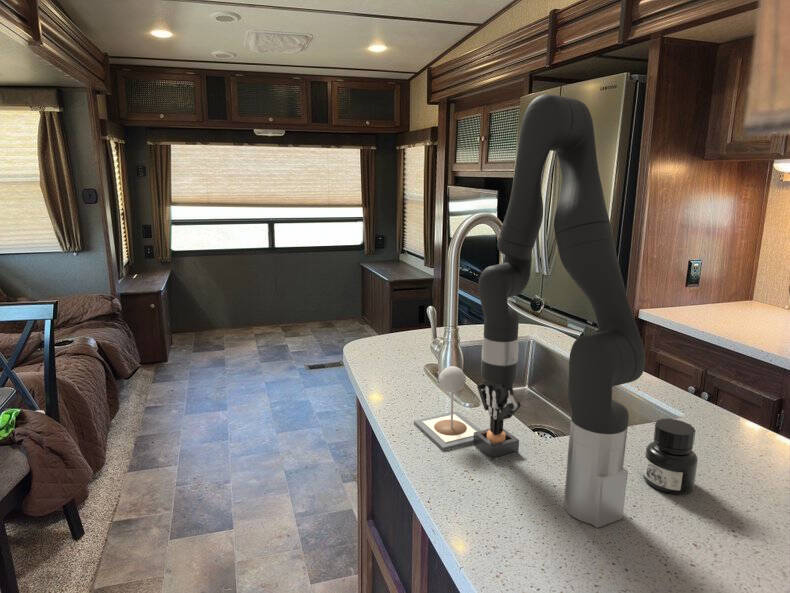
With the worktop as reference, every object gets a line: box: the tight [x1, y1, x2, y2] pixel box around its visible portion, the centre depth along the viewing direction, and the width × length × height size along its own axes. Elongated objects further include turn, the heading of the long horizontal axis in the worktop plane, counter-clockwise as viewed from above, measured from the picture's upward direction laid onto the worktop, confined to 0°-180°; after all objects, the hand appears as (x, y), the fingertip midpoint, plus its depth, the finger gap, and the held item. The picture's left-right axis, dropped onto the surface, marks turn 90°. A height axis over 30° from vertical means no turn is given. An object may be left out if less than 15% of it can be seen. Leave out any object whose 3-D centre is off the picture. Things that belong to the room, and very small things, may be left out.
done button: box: [487, 430, 506, 444], centre depth 117 cm, size 4×4×3 cm
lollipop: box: [438, 365, 467, 428], centre depth 123 cm, size 6×6×15 cm
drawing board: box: [413, 411, 482, 452], centre depth 125 cm, size 14×12×1 cm
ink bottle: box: [642, 418, 699, 495], centre depth 103 cm, size 10×9×12 cm
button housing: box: [472, 428, 520, 461], centre depth 117 cm, size 7×7×3 cm
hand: (496, 432), depth 116 cm, fingers closed
